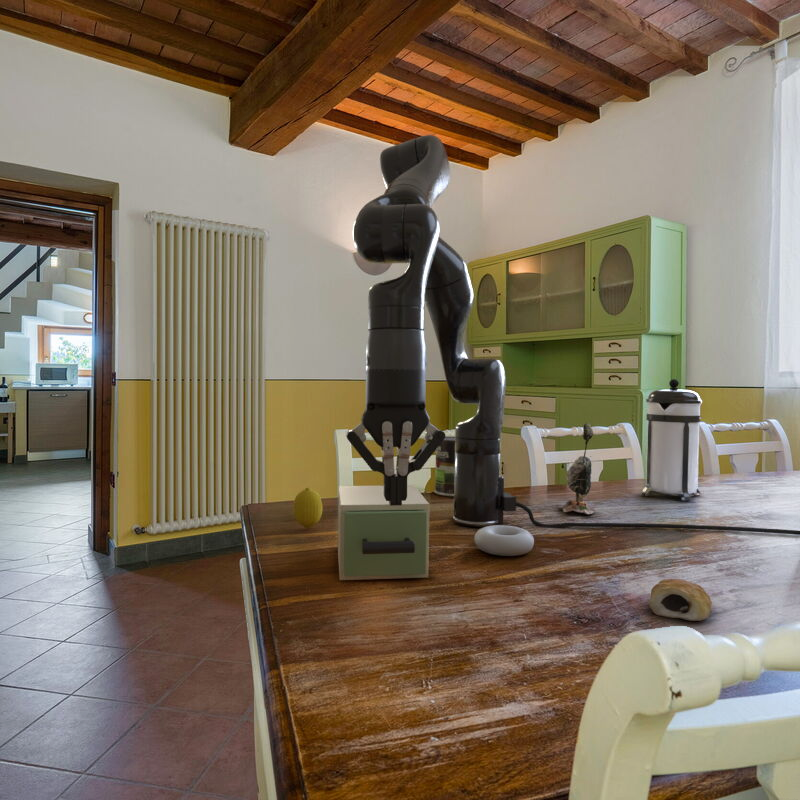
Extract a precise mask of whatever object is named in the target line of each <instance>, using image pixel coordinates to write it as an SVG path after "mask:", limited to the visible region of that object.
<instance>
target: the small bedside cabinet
mask: <svg viewBox="0 0 800 800" xmlns="http://www.w3.org/2000/svg"><path fill="white" fill-rule="evenodd" d="M337 487H338V496H337V498H338V501H337V505H338V506H337V508H338V509H337V558H338V573H339V581H356V580H357V581H358V580H388V579H390V580H391V579H392V580H393V579H418V578H419V579H420V578H423V579H425V578H427V579H428V578H429V557H430V555H429V554H430V553H429V552H430V551H429V549H430V547H429V546H430V545H429V544H430V503H429V501H427V499H426V498H425V496H423V495H422V493H421V492H420V491H419V489H418V488H417V487H416V486H415V485H413V484H407V498H406V501H402V505H397V506H396V505H395V506H390V504H389V501H386V499H385V497H384V485H338V486H337ZM381 510H425V511H426V512H427V520H426V574H405V575H372V576H344V532H345V512H347V511H381Z"/></svg>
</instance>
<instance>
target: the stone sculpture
mask: <svg viewBox="0 0 800 800" xmlns="http://www.w3.org/2000/svg"><path fill="white" fill-rule="evenodd" d="M582 429H583V430H582V431H583V432H582V433H583V434H582V438H583V440H584V441H585V447H584V448H585V449H584V452H583V455H580V456H578V458H576V459H575V460H574V462H573V463H572V464H571V465H570V466H569V469H568V471H567V473H566V482H567V486H568V488H569V489H570V490H571V491H572V492H574V493H575V500H574V499H568V500H566V502H565V504H562V505H560V506H559V507H558V508H559V509H561V510H562V512H563V513H568V512H572V511H574V512H576V513H580V514H585V515H593V514H594V513H595V512H596V510H595V508H592V507H590V506H588V504H587V502H586V501H584V499H585V498H586V497H587V496H588V494H589V493H590V490H591V488H592V482H591V480H592V476H591V475H592V461H591V459H590V458H591V457H592V455H591V456H589V457H590V458H589V457H587V456H586V453H587V447H588V443H589V442H590V440H591V439H592V438H593V437H594V430H593V429H592V425H590V423H589V422H586V423H584V424H583V428H582Z"/></svg>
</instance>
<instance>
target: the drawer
mask: <svg viewBox="0 0 800 800" xmlns="http://www.w3.org/2000/svg"><path fill="white" fill-rule="evenodd" d="M426 520H427V512H426V511H425V510H381V511H347V512H345V532H344V576H372V575H405V574H426Z"/></svg>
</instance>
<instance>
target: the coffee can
mask: <svg viewBox="0 0 800 800" xmlns="http://www.w3.org/2000/svg"><path fill="white" fill-rule="evenodd" d="M434 471H435V474H434V476H435V478H434V479H435V480H434V493H435V494H436V495H439V496H444V497H453V498H454V480H455V436H445V439H444V440H443V441H442V442H441V444H440V445H439V446H438V448H437V449H436V450H435V470H434Z"/></svg>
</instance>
